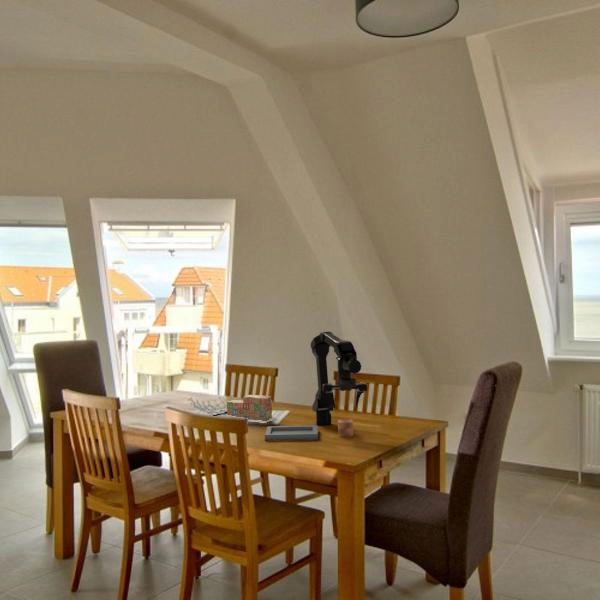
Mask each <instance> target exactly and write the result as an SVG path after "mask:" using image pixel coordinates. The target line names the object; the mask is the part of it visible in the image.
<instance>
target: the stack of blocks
mask: <svg viewBox="0 0 600 600" xmlns="http://www.w3.org/2000/svg"><path fill="white" fill-rule="evenodd" d="M226 407H227V413H226V414H227V415H232V416H236V417H244V418H248V419H253V420H262V421H267V420H269V419H270V418H272V415H273V414H272V396H271V395H270V396H269V395H259V394H248V395H245V396H243V397H242V400H241V399H232V400H228V401H226Z"/></svg>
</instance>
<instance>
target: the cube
mask: <svg viewBox="0 0 600 600" xmlns="http://www.w3.org/2000/svg"><path fill="white" fill-rule="evenodd" d="M337 432H338V433H337V434H338V438H348V437H351V436H353V437H354V421H353V419H338V420H337Z"/></svg>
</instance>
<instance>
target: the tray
mask: <svg viewBox="0 0 600 600" xmlns="http://www.w3.org/2000/svg"><path fill="white" fill-rule="evenodd" d="M265 440H292V441H318V440H319V431H318V425H315V424H314V425H313V424H312V425H278V426H277V425H273V426H272V425H270V426H266V430H265V433H264V441H265Z"/></svg>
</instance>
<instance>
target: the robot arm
mask: <svg viewBox="0 0 600 600" xmlns="http://www.w3.org/2000/svg"><path fill="white" fill-rule="evenodd" d="M330 347H332V348H333V352H334V353H335V354H336V358H335V359H336V361H337V384H332V383H331V382H329V377H328V362H327V361H328V360H327V357H328V355H329V353H330ZM310 349H311V353H312V354H313V356H314V358H315V361H316V362H315V363H316V375H317V378H316V379H317V388H318V389H317V391H316V393H315V396H314V398H315V399H314V401H313V404H312V406H311V407H312V411H313V412H314V413H315V414H316V415H315V417H316V418H315V420H316V421H315V424H316V425H317V426H330V425H331V423H332V413H331V411H334V409H335V408H336V403H335V396H334V391H335V390H340V391H341V392H344V391H348V392H349V391H350V392H351V391H352V390H356V391H355V401H354V403H355V404H354V405H355V408H357V407H358V404H359V401H360V398H361V396H362V394H364V393H365V392H368V384H367V383H365V382H357V379H356V378H352V374H355V375H356V374H358V373H360V371H361V370H362V363H361V362H360V360H359V359H358V354H357V351H356V349H355V346H354V345H353V343H352V342H351V341H349V340H345V339H341V338H339V337H338V336H336V335H335V334H334V333H333V332H331V331H322V332H320V334H318V335H316V336H315V337H313V338H312V340H311V341H310ZM357 359H358V360H357ZM333 390H334V391H333Z"/></svg>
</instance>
